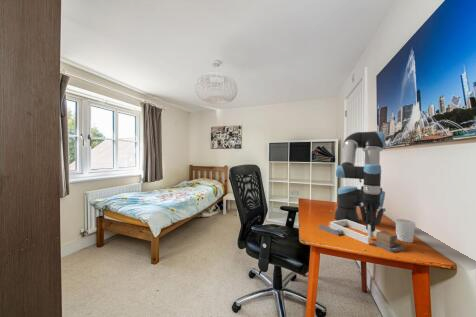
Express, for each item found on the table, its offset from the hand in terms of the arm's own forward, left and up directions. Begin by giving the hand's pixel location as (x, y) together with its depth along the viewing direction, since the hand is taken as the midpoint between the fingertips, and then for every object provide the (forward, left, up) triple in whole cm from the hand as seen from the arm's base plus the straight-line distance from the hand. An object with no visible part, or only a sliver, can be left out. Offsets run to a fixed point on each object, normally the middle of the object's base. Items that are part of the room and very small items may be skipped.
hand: (370, 236), depth 103 cm
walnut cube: (0, +8, -1) cm, 8 cm away
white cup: (-16, +8, -1) cm, 18 cm away
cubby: (+1, -7, -1) cm, 8 cm away
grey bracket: (+1, +9, -1) cm, 9 cm away
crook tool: (+12, -15, -1) cm, 19 cm away
